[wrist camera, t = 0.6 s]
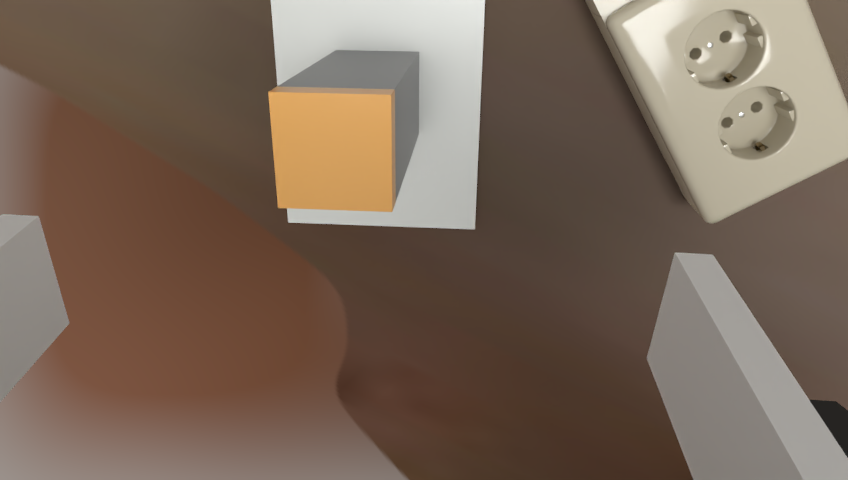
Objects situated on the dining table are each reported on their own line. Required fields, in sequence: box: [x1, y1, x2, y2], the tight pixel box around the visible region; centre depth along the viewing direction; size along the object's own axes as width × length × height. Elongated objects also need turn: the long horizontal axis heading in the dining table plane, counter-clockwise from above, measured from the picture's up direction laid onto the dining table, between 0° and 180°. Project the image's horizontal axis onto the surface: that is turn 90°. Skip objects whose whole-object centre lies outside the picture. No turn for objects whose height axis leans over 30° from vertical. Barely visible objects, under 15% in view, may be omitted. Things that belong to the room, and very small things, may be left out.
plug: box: [268, 50, 419, 212], centre depth 27 cm, size 4×4×11 cm
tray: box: [271, 0, 485, 229], centre depth 32 cm, size 14×10×1 cm
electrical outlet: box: [585, 0, 848, 223], centre depth 28 cm, size 7×4×18 cm
